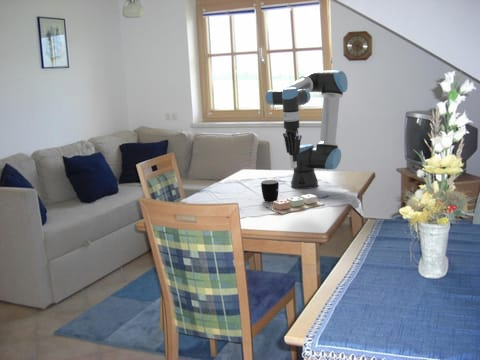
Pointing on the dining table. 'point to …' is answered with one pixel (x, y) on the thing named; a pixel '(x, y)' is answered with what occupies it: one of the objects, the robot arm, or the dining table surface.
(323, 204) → the board
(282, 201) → the pink square block
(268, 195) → the mug
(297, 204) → the tile
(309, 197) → the tile
